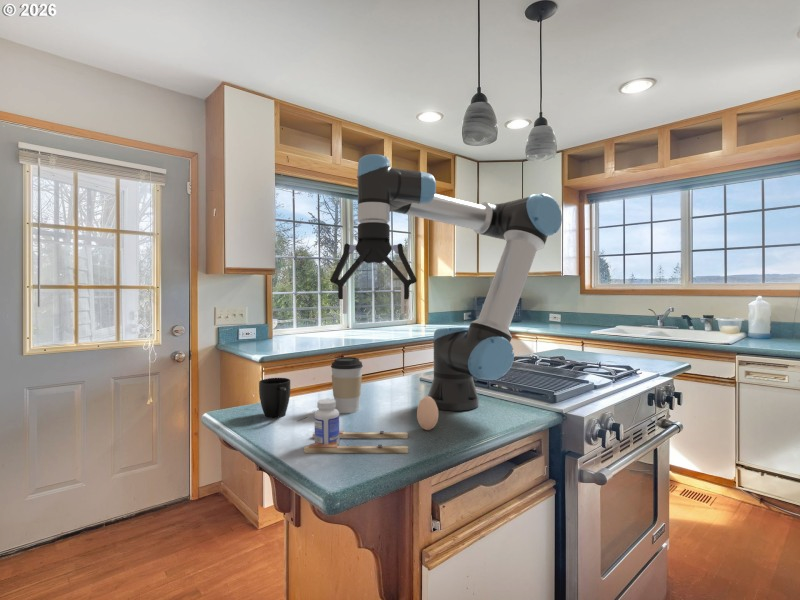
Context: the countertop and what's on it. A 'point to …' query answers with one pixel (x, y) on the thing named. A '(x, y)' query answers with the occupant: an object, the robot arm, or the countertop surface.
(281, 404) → the mug
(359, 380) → the coffee cup
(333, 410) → the pill bottle
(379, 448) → the beam track
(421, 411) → the egg
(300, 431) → the countertop surface
